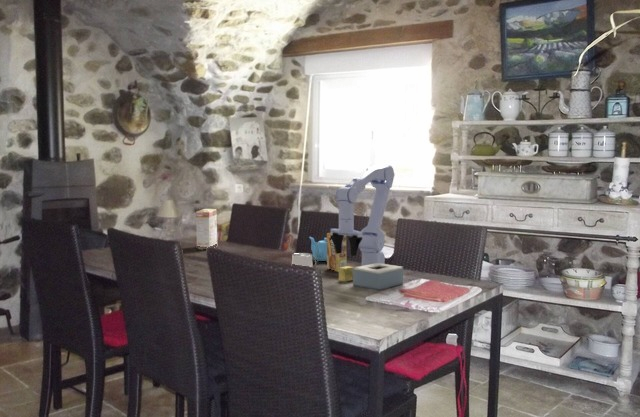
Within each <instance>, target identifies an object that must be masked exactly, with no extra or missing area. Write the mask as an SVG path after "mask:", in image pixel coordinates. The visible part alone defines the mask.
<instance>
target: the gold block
mask: <svg viewBox="0 0 640 417" xmlns="http://www.w3.org/2000/svg"><path fill="white" fill-rule="evenodd" d="M353 268H354V266H350V265H346V266H345V267H340V268H339V272H338V282H344V283H345V282H349V281H353Z"/></svg>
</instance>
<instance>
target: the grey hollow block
mask: <svg viewBox="0 0 640 417" xmlns="http://www.w3.org/2000/svg"><path fill="white" fill-rule="evenodd" d="M352 283H353V284H352V285H353V286H356V287H360V288H366V289H371V290H376V291H381V290H385V289H389V288H393V287H397V286H402V285H403V284H404V266H399V265H394V264H388V263H385V264H382V263H374V264H369V265H364V266H362V265H361V266H356V267H353V280H352Z"/></svg>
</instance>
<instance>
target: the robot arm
mask: <svg viewBox="0 0 640 417" xmlns="http://www.w3.org/2000/svg"><path fill="white" fill-rule="evenodd" d="M395 176H396V175H395V170H394V168H393V166H392V165H373V164H371V165H369V166H368V167H366V170H365V172H364V173H363V175H361V176H360V177H353V178H352V180H351V181H350V182H348V183H347V184H346V185H344V186H340V187H339V188H337V190H336V193H335V200H336V201H337V202H336V204H337V205H336V206H337V207H338V228H330V233H331V234H333V235H331V236H330V237H331V239H332V241H333V243H334V246H335V249H336V253H337V254H338V253H341V251H342V240H343V237H344V235H346V237H347V236H349V237H348V242H349V245H350V256H351V257H355V256H357V254H358V250H359V251H360V252H361V266H364V265H369V264H374V263H382V264H386V263H385V261H386V260H385V259H386V258H385V253H384V252H383V248H384V247H385V236H386V234H385V233H384V231H383V230H382V229H381V226H382V223H383V218H384V216H385V215H384V214H385V210H386V207H387V206H386V205H387V203H388V199H389V198H388V197H389V194H390V190H391V188H392V187H393V184H394V183H393V182H394V178H395ZM368 184H371V186H372V187H373V188H374V189H375V195H374V198H373V202H372V207H371V211H370V215H369V219H368V223H367V225H366V226H365V227H363V228H362V229H361V231H360V230H355V223H354V221H355V202H356V201H357V199H358V196H359V195H360V194H361V193H362V192H363V191H365V189H366V185H368Z"/></svg>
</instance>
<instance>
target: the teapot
mask: <svg viewBox="0 0 640 417" xmlns="http://www.w3.org/2000/svg"><path fill="white" fill-rule="evenodd" d="M308 238H309V239H310V241H311V245H310V249H311V252H312V253H311V254H312V256H313V257H314V258H315V259H316V260H317V262H319V261H326V262H325V263H327V237H324V238H323V240H319V241H318V242H317V241H315V238H314V237H312V236H309V237H308Z"/></svg>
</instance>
